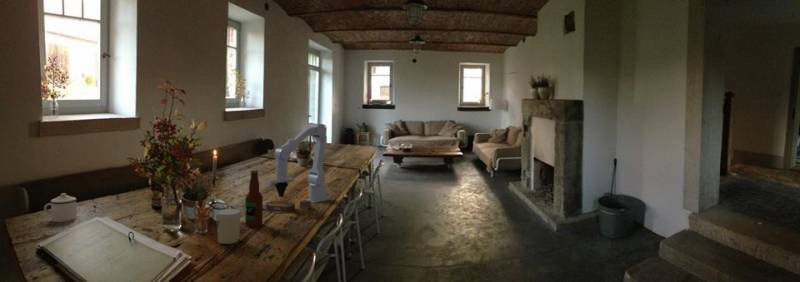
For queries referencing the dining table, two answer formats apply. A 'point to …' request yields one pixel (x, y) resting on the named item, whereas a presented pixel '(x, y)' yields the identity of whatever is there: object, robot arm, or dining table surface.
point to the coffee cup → (228, 225)
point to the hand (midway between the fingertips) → (281, 196)
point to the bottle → (253, 202)
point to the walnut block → (305, 204)
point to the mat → (274, 210)
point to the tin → (280, 206)
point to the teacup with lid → (62, 208)
